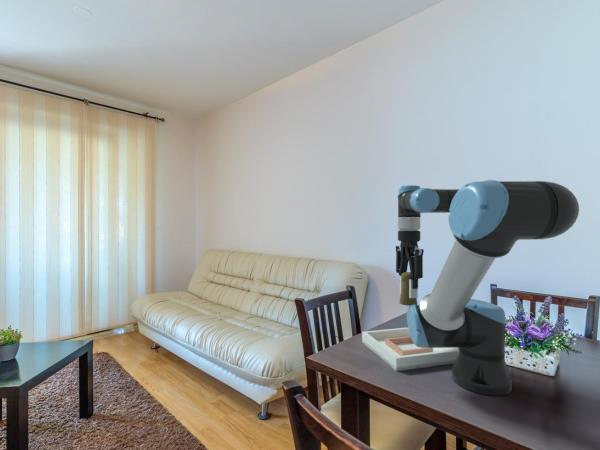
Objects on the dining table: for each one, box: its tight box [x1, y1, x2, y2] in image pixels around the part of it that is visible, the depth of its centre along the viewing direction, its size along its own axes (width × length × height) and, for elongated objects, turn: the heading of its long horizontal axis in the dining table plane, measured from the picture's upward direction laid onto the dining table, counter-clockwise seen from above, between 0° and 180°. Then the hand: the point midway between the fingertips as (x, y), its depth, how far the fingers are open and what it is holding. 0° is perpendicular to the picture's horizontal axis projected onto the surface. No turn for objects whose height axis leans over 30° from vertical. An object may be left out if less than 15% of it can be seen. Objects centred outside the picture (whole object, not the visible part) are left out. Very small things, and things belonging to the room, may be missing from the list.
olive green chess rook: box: [399, 271, 418, 307], centre depth 114 cm, size 6×6×11 cm
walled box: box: [361, 326, 459, 372], centre depth 114 cm, size 24×24×4 cm
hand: (408, 295), depth 114 cm, fingers closed on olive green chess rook, 5 cm apart
